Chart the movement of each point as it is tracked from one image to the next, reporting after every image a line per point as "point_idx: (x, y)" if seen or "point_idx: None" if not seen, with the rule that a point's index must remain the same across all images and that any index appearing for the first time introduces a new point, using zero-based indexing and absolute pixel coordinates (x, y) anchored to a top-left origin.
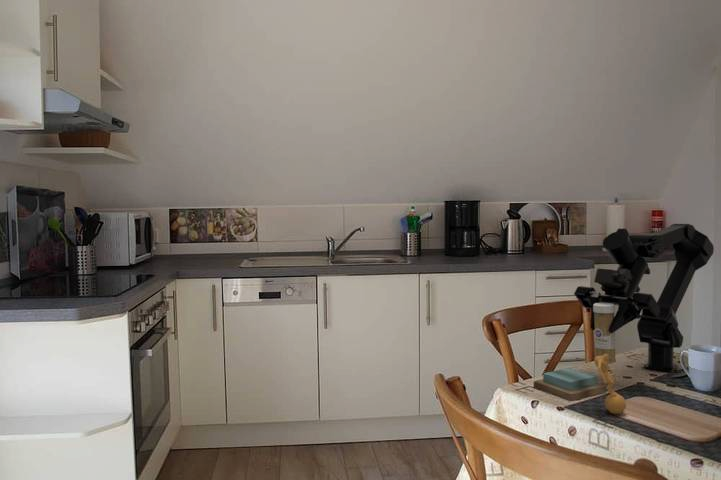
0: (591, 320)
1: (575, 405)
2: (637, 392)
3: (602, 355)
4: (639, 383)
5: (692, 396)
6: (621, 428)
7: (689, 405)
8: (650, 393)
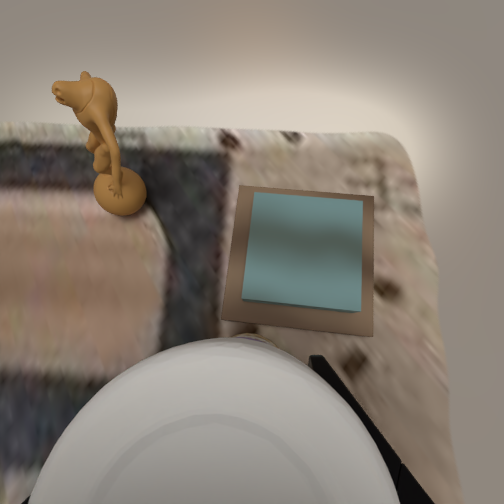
0: (346, 396)
1: (218, 178)
2: None
3: (74, 84)
4: None
5: None
6: None
7: (23, 397)
8: None
